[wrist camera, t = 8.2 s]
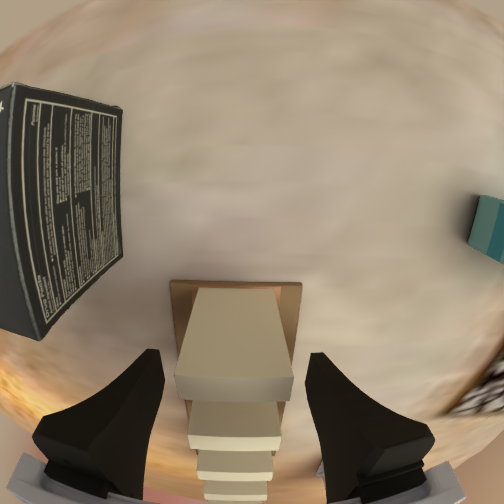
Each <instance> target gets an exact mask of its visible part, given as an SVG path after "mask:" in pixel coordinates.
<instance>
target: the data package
mask: <svg viewBox="0 0 504 504" xmlns="http://www.w3.org/2000/svg"><path fill="white" fill-rule="evenodd" d="M468 244H469V245H470V246H471V247H473V248H475V249H476V250H478V251H480V252H482V253H484V254H486V255H488V256H489V257H491V258H493V259H495V260H497V261H498V262H500V263H502V264H504V200H500V199H497V198H493V197H490V196H486V195H481V196H480V199H479V204H478V208H477V212H476V216H475V220H474V223H473V227H472V230H471V234H470V237H469V240H468Z"/></svg>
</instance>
